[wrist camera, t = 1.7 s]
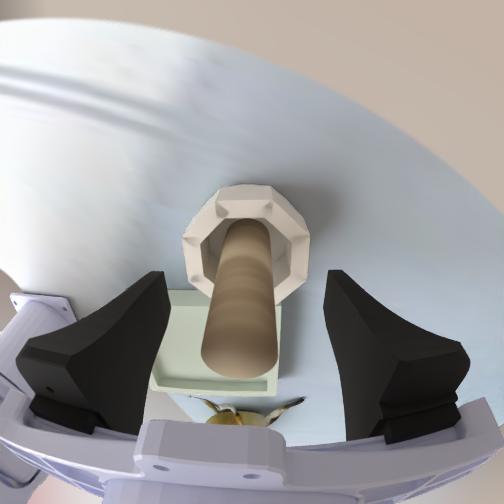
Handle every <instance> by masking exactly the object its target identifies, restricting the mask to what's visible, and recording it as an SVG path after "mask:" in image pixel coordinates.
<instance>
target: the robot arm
mask: <svg viewBox="0 0 504 504" xmlns="http://www.w3.org/2000/svg"><path fill="white" fill-rule="evenodd" d="M10 298H11V300H12V303H13V305H14V307H15V309H16V311H17V314H16V315H15V316H14V318H13V319H12V320H11V321H10V322H9V324H8V325H7V326H6V327H5V329H4V330H3V331H2V333H1V334H0V504H27V502H28V500H29V499H30V497H31V496H32V494H33V492H34V491H35V489H36V488H37V487H38V486H39V485H41V484H42V483H43V482H44V481H45V480H46V478H47V477H48V475H49V474H50V475H52V476H54V477H56V478H58V479H60V480H62V481H64V482H66V483H68V484H71V485H73V486H75V487H77V488H80V489H82V490H84V491H87V492H89V493H92V494H94V495H97V496H99V497H102V498H103V501H102V504H396V503H399V502H402V501H405V500H408V499H411V498H414V497H416V496H419V495H422V494H424V493H426V492H429V491H431V490H434V489H436V488H439V487H441V486H444V485H446V484H448V483H451V482H453V481H455V480H457V479H460V478H462V477H464V476H466V475H468V474H470V473H472V472H473V471H475V470H476V469H477V468H479V467H480V466H481V465H483V464H484V463H485V462H487V461H488V460H489V459H490V458H492V457H493V456H494V455H495V454H496V453H498V452H499V451H500V450H501V449H502V448H503V447H504V439H503V436H502V434H501V432H500V429H499V427H498V424H497V422H496V420H495V418H494V415H493V413H492V411H491V409H490V407H489V405H488V403H487V401H486V399H485V397H482V398H479V399H477V400H474V401H471V402H468V403H466V404H464V405H462V406H460V407H459V408H457V406H456V404H455V402H456V401H457V400H458V396H457V394H456V392H455V391H456V389H457V388H458V386H459V385H460V384H461V382H462V381H463V379H464V378H465V376H466V374H467V372H468V371H469V367H470V358H469V357H468V355H467V353H466V351H465V350H464V348H463V346H462V345H461V343H460V342H458V341H454V340H451V339H448V338H445V337H441V336H439V335H436V334H434V333H431V332H429V331H426V330H424V329H422V328H420V327H418V326H416V325H414V324H412V323H410V322H408V321H406V320H405V319H403V318H401V317H400V316H398V315H396V314H395V313H393V312H392V311H390V310H389V309H387V308H386V307H385V306H383V305H382V304H381V303H379V302H378V301H377V300H376V299H374V298H373V297H372V296H371V295H369V294H368V293H367V292H366V291H365V290H364V289H363V288H361V287H360V286H359V285H358V284H357V283H356V282H355V281H354V280H353V279H352V278H350V277H349V276H348V275H347V274H346V273H345V272H344V271H343V270H328V276H327V283H326V291H325V298H324V305H323V309H324V316H325V322H326V328H327V331H328V334H329V338H330V341H331V345H332V348H333V351H334V355H335V358H336V362H337V365H338V370H339V374H340V381H341V387H342V395H343V403H344V413H345V426H346V442H338V443H330V444H320V445H309V446H294V447H286V441H285V439H284V437H283V435H282V434H280V433H279V432H276V431H274V430H271V429H269V428H267V427H258V426H249V425H220V424H204V423H192V422H182V421H173V420H150V421H148V422H146V423H144V424H142V423H143V415H144V407H145V401H146V395H147V389H148V385H149V380H150V375H151V371H152V368H153V365H154V362H155V359H156V356H157V353H158V351H159V348H160V345H161V343H162V340H163V337H164V334H165V332H166V329H167V326H168V322H169V317H170V312H171V304H170V299H169V295H168V290H167V285H166V281H165V276H164V271H151V272H149V273H148V274H146V275H145V276H144V277H142V278H141V279H140V280H138V281H137V282H136V283H135V284H133V285H132V286H131V287H129V288H128V289H127V290H126V291H124V292H123V293H122V294H120V295H119V296H118V297H116V298H115V299H113V300H112V301H111V302H109V303H108V304H107V305H105V306H104V307H102V308H100V309H99V310H97V311H96V312H94V313H92V314H90V315H89V316H87V317H85V318H83V319H81V320H79V321H77V320H76V318H75V316H74V313H73V311H72V309H71V306H70V304H69V302H68V300H67V299H66V298H63V297H53V296H42V295H32V294H23V293H14V292H13V293H11V295H10Z"/></svg>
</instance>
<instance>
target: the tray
mask: <svg viewBox="0 0 504 504" xmlns="http://www.w3.org/2000/svg"><path fill="white" fill-rule="evenodd" d="M126 290H127V289H125V291H126ZM168 295H169V299H170V304H171V312H170V317H169V322H168V326H167V329H166V332H165V334H164V337H163V340H162V343H161V345H160V348H159V351H158V353H157V356H156V359H155V362H154V365H153V368H152V371H151V375H150V380H149V385H150V388H151V390H153V391H161V392H171V393H182V394H195V395H212V396H247V397H259V396H277V383H278V367H279V349H280V330H281V308H282V306H281V302H279V303H278V304H277V305H275V312H276V326H277V341H278V360H277V363H276V364H275V366H274V367H273V368H272V369H271V370H270V371H269V372H267V373H265V374H263V375H261V376H258V377H255V378H250V379H234V378H229V377H225V376H222V375H220V374H217V373H216V372H214V371H212V370H211V369H210V368H209V367H208V366H207V365H206V364H205V363H204V361H203V360H202V357H201V345H202V341H203V336H204V331H205V326H206V321H207V317H208V312H209V307H210V303H211V298H209V297H208V296H207V295H205V294H204V293H203V292H201V291H200V290H168Z"/></svg>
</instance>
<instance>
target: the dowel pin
mask: <svg viewBox="0 0 504 504" xmlns="http://www.w3.org/2000/svg"><path fill="white" fill-rule="evenodd" d="M201 357H202V360H203V361H204V363H205V364H206V365H207V366H208V367H209V368H210V369H211V370H212V371H214V372H216V373H217V374H220V375H222V376H225V377H229V378H234V379H250V378H255V377H258V376H261V375H263V374H265V373H267V372H269V371H270V370H271V369H272V368H273V367H274V366H275V364H276V363H277V360H278V341H277V326H276V312H275V298H274V284H273V271H272V258H271V245H270V235H269V232H268V229H267V228H266V226H265V225H264V224H263V223H261V222H260V221H258V220H255V219H251V218H243V219H240V220H237V221H235V222H234V223H232V224H231V225H230V227H229V228H228V230H227V232H226V236H225V240H224V244H223V249H222V253H221V258H220V262H219V266H218V271H217V275H216V280H215V284H214V289H213V293H212V298H211V303H210V307H209V312H208V317H207V321H206V326H205V331H204V336H203V341H202V345H201Z"/></svg>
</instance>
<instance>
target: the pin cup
mask: <svg viewBox="0 0 504 504" xmlns="http://www.w3.org/2000/svg"><path fill="white" fill-rule="evenodd" d="M243 218H251V219H255V220H258V221H260V222H261V223H263V224H264V225H265V226H266V228H267V229H268V232H269V235H270V245H271V258H272V271H273V284H274V298H275V305H277V304H278V303H279V302H281V301H282V300H283V299H284V298H286V297H287V296H288V295H289V294H291V293H292V292H293V291H294V290H296V289H297V288H298V287H299V286H301V285H302V284H303V283H304V282H306V281H307V271H308V258H309V244H310V234H309V231H308V228H307V226H306V223H305V220H304V218H303V217H302V216H301V215H300V214H299V213H298V212H297V211H296V210H295V209H294V208H293V206H292V205H291V203H290V202H289V201H288V200H287V199H286V198H285V197H284V196H282V195H281V194H280V193H278V192H277V191H276V190H274V189H273V188H272V187H271V186H262V185H257V184H237V185H233V186H225V187H221V188H220V189H219V190H218V191H217V192H216V193H215V194H214V195H213V196H212V197H211V198H210V199H209V200H208V201H207V202H206V203H205V204H204V206H203V207H202V208H201V209H200V211H199V212H198V213H197V214H196V215H195V216H194V217H193V218H192V219H191V221H190V223H189V225H188V226H187V228H186V230H185V232H184V234H183V236H182V243H183V250H184V257H185V263H186V270H187V276H188V282H189V283H191V284H192V285H193V286H195V287H196V288H197V289H199V290H200V291H201V292H203V293H204V294H205V295H207V296H208V297H209V298H212V293H213V289H214V284H215V280H216V275H217V271H218V266H219V262H220V258H221V253H222V249H223V244H224V240H225V236H226V232H227V230H228V228H229V227H230V225H231V224H232V223H234V222H235V221H237V220H240V219H243Z"/></svg>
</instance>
